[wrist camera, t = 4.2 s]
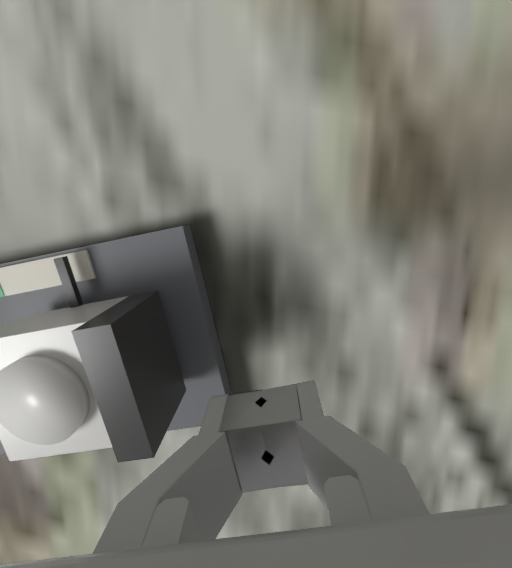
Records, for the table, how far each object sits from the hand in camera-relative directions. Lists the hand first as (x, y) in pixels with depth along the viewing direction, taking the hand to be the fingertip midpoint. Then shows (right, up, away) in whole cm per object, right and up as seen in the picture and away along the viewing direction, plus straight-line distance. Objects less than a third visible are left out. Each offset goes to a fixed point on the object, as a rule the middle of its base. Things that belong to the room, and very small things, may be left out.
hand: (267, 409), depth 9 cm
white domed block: (-11, +1, +9) cm, 14 cm away
